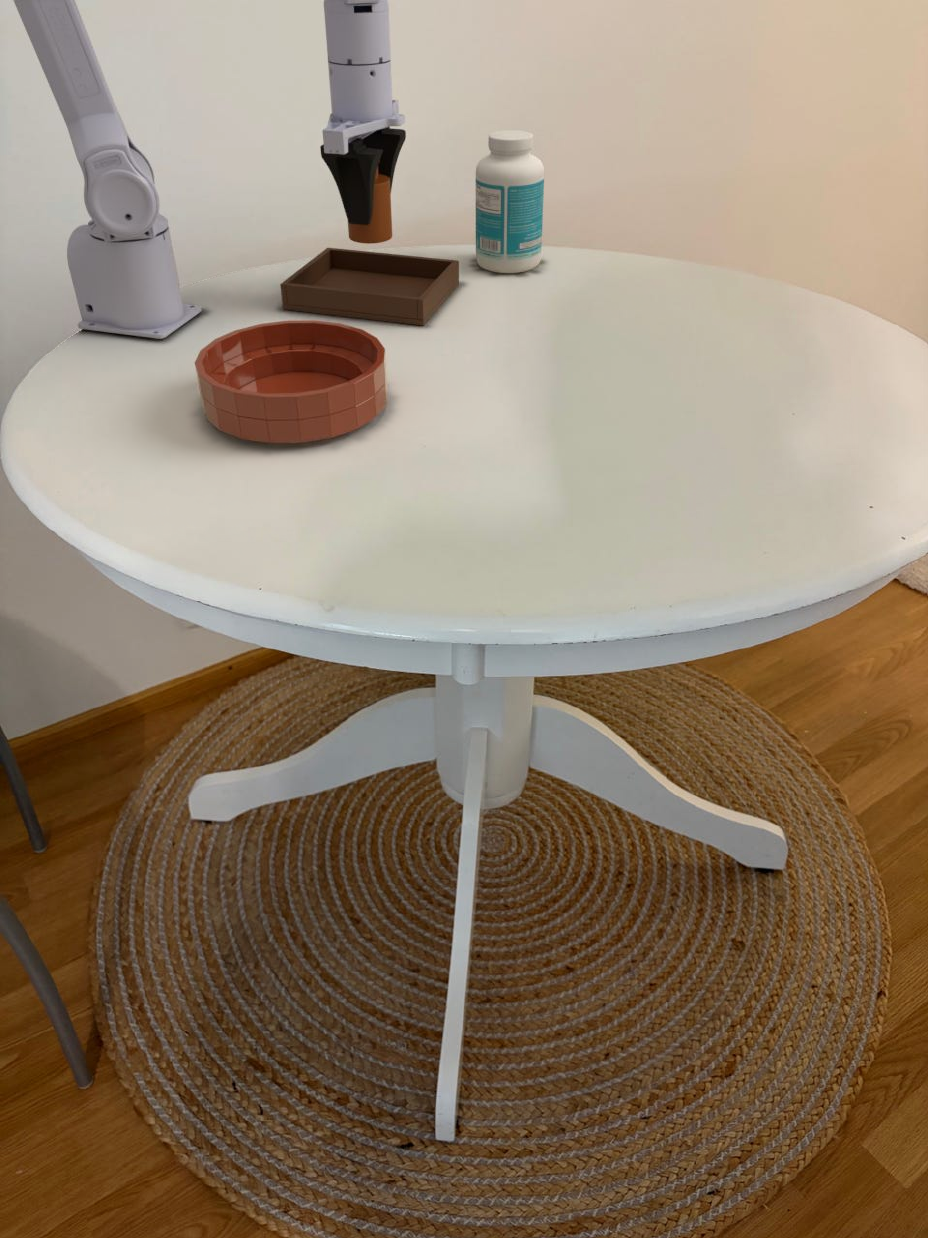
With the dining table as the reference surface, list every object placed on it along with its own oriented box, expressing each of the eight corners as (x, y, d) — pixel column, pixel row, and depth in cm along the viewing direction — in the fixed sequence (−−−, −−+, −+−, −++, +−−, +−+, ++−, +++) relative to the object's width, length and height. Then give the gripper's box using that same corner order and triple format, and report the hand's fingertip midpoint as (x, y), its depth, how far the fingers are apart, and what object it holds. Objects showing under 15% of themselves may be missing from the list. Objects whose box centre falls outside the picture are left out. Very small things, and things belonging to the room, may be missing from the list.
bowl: (170, 434, 76) (159, 382, 74) (255, 360, 88) (248, 312, 85) (347, 461, 73) (342, 407, 70) (411, 380, 84) (410, 331, 82)
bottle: (342, 241, 95) (335, 154, 90) (358, 228, 99) (352, 144, 94) (383, 245, 94) (379, 157, 89) (398, 232, 98) (394, 147, 93)
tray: (282, 309, 98) (279, 283, 96) (329, 270, 107) (327, 247, 105) (423, 325, 94) (422, 299, 93) (459, 284, 103) (459, 260, 102)
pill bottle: (541, 255, 111) (548, 127, 103) (539, 276, 105) (546, 143, 97) (477, 252, 112) (479, 125, 103) (472, 274, 106) (472, 141, 98)
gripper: (371, 75, 80) (380, 241, 89) (426, 50, 91) (429, 199, 100) (295, 71, 82) (310, 234, 90) (357, 46, 93) (366, 194, 101)
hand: (368, 216), depth 95 cm, fingers closed on bottle, 4 cm apart
